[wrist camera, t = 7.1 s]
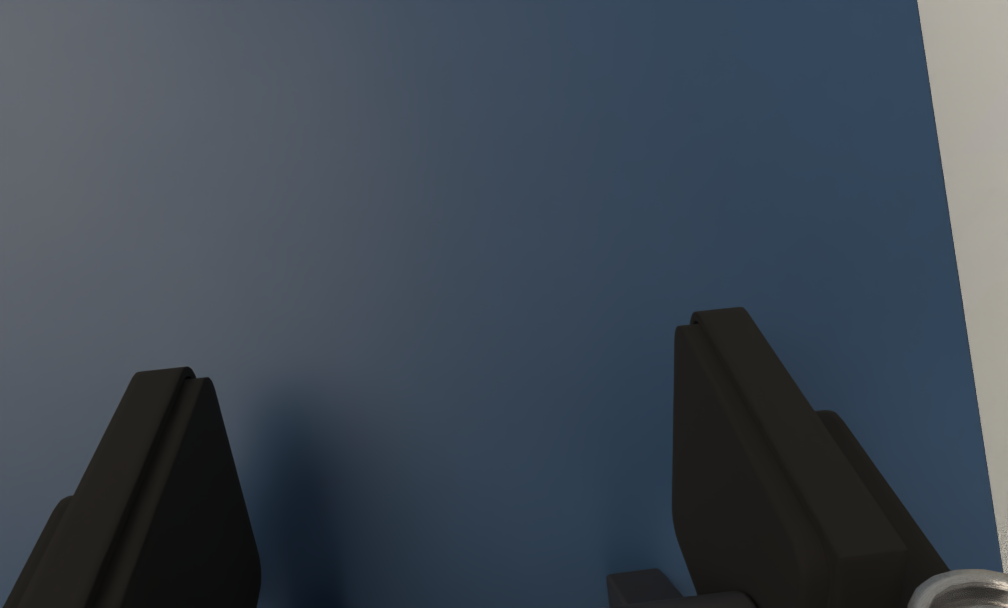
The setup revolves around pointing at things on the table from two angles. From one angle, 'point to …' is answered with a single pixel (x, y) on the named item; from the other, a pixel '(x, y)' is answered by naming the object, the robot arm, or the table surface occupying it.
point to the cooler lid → (473, 271)
